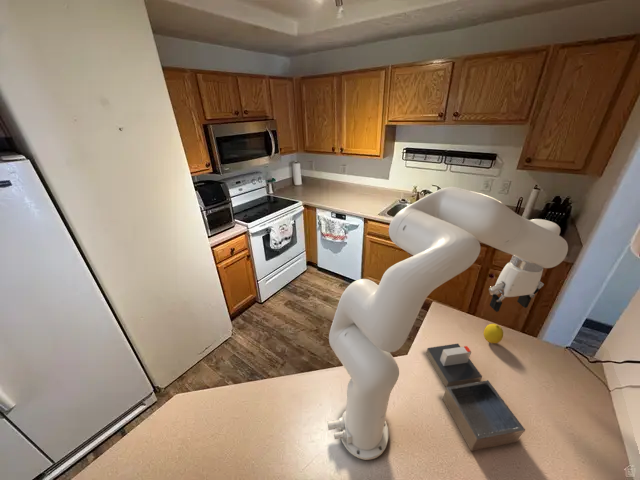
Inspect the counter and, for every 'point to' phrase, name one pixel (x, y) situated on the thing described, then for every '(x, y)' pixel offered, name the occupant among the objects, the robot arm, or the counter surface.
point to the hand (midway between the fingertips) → (507, 306)
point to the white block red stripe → (455, 356)
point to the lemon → (493, 333)
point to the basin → (482, 415)
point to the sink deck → (453, 368)
